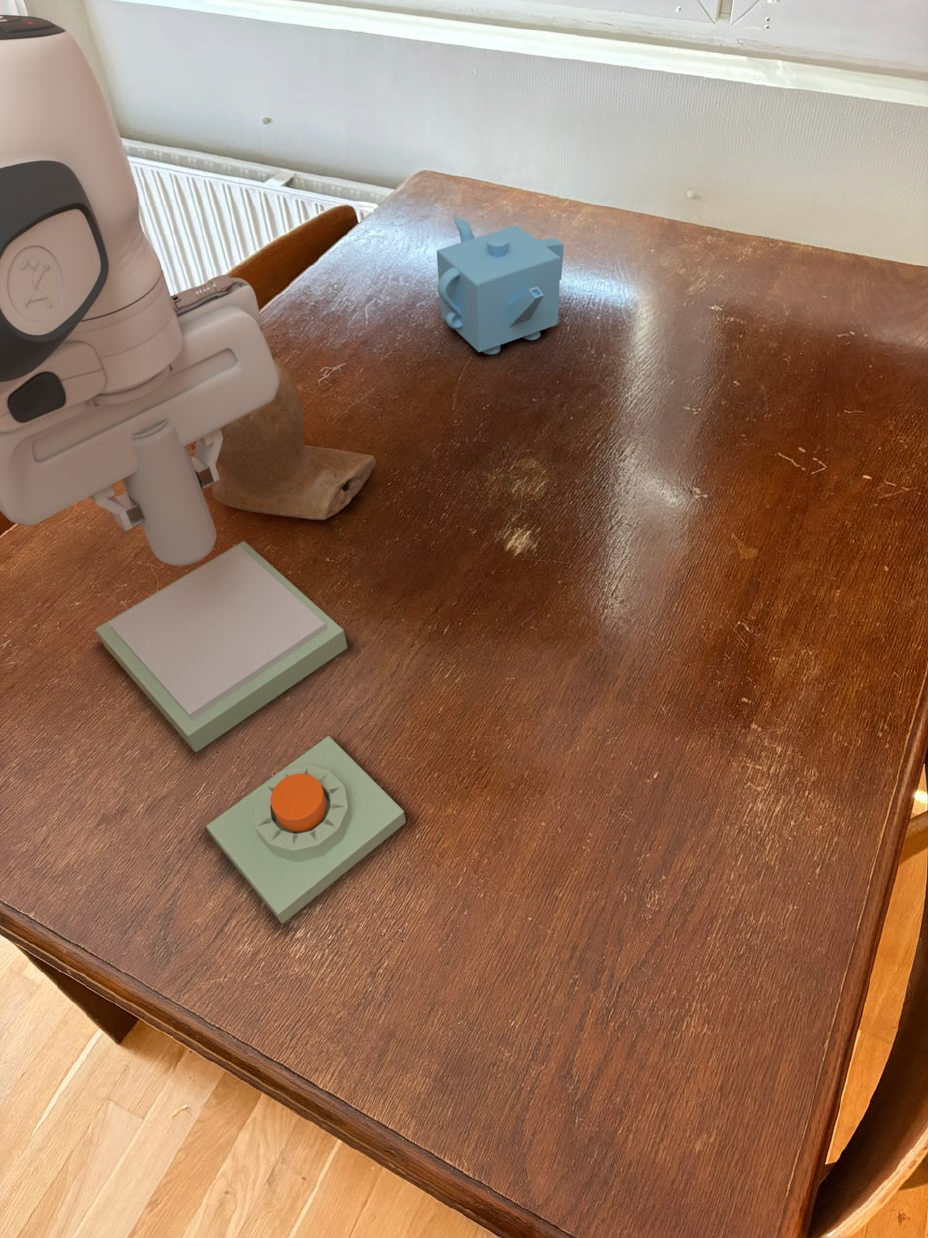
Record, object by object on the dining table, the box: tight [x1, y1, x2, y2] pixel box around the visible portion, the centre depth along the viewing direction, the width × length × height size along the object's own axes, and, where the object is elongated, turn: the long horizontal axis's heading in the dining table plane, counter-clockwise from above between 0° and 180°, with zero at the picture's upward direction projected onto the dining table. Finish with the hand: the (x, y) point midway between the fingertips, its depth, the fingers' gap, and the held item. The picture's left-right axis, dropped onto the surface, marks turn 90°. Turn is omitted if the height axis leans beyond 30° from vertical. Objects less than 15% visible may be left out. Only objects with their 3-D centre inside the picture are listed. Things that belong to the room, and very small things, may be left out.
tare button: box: [271, 774, 327, 832], centre depth 62 cm, size 4×4×2 cm
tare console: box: [206, 735, 407, 925], centre depth 64 cm, size 11×9×4 cm
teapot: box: [436, 217, 565, 355], centre depth 103 cm, size 16×18×11 cm
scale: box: [95, 540, 348, 753], centre depth 75 cm, size 15×15×3 cm
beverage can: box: [121, 418, 217, 567], centre depth 63 cm, size 5×5×12 cm
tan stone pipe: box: [211, 358, 376, 521], centre depth 83 cm, size 15×12×15 cm
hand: (168, 501), depth 64 cm, fingers closed on beverage can, 5 cm apart
